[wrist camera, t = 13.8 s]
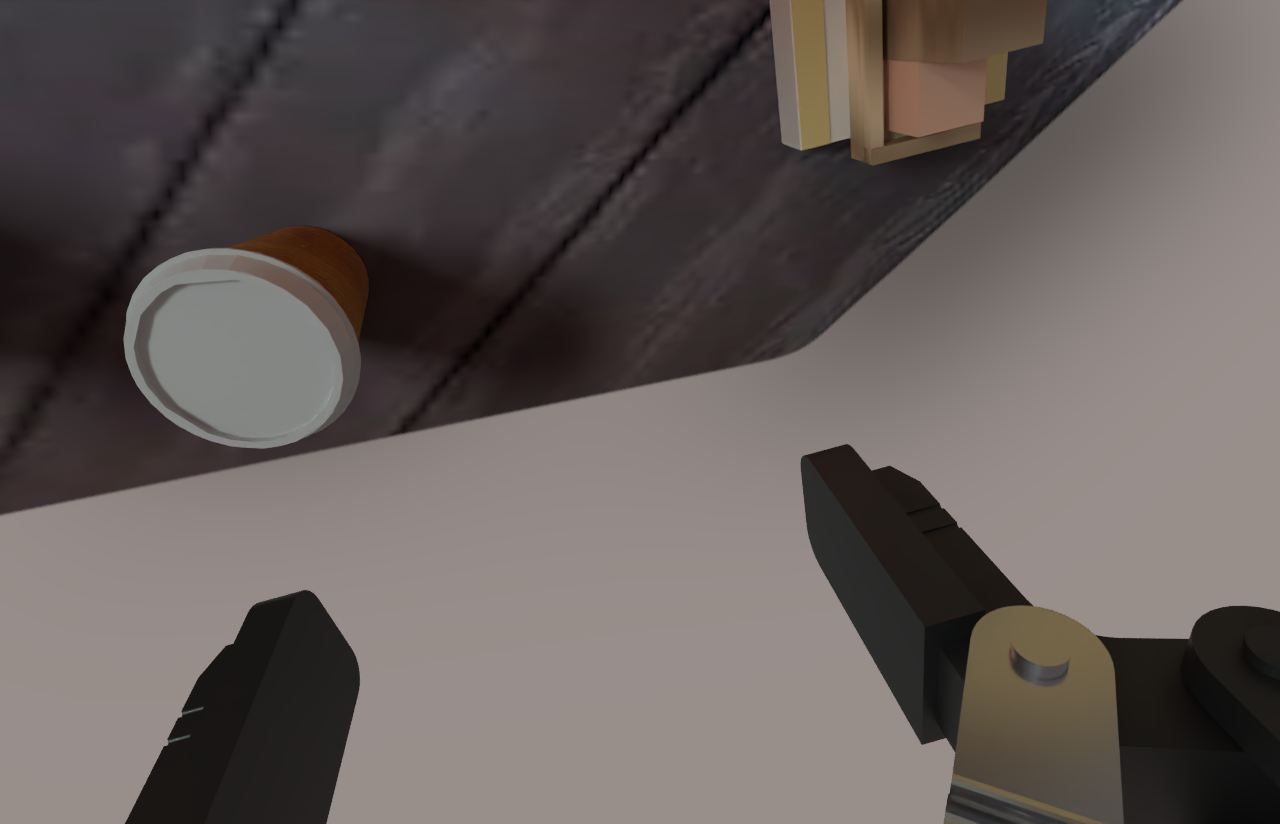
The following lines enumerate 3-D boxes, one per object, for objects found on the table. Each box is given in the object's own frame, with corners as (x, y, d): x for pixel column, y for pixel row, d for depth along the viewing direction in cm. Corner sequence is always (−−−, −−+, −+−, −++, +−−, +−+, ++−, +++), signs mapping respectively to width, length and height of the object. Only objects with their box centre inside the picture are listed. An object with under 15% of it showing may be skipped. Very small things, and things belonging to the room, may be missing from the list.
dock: (760, -106, 33) (781, -119, 30) (986, -160, 33) (1026, -177, 31) (781, 143, 39) (801, 150, 36) (972, 95, 40) (1005, 99, 37)
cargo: (884, 59, 34) (918, 61, 31) (947, 43, 34) (988, 43, 31) (885, 129, 35) (917, 137, 32) (945, 114, 35) (983, 121, 32)
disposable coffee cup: (419, 240, 39) (382, 313, 28) (370, 374, 42) (321, 482, 32) (244, 165, 35) (130, 216, 25) (207, 317, 39) (93, 416, 29)
